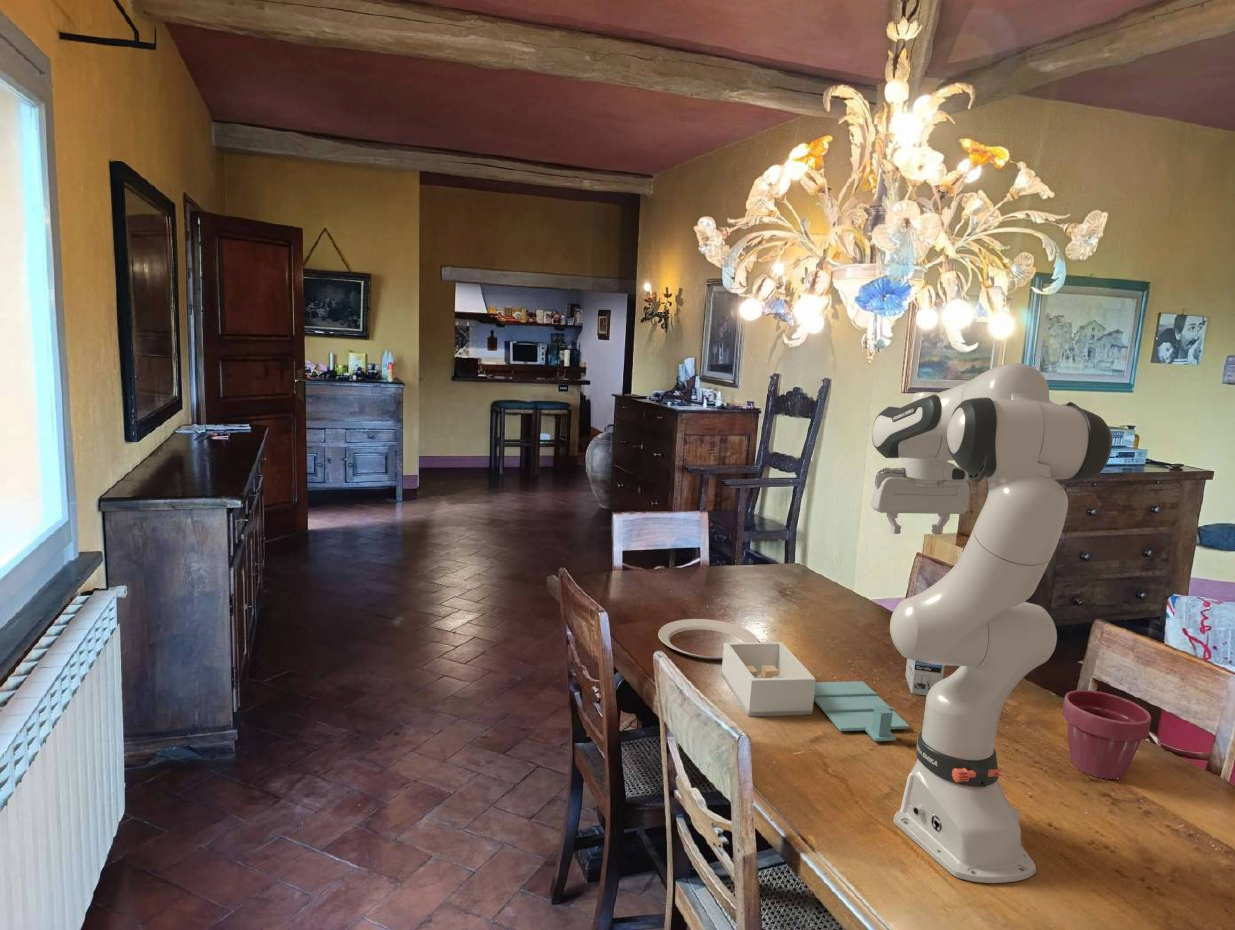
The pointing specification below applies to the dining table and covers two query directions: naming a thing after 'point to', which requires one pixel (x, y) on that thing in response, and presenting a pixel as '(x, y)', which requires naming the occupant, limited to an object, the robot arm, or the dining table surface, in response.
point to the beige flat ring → (705, 624)
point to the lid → (857, 709)
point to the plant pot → (1103, 732)
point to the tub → (768, 679)
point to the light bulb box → (922, 676)
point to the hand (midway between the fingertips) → (916, 533)
